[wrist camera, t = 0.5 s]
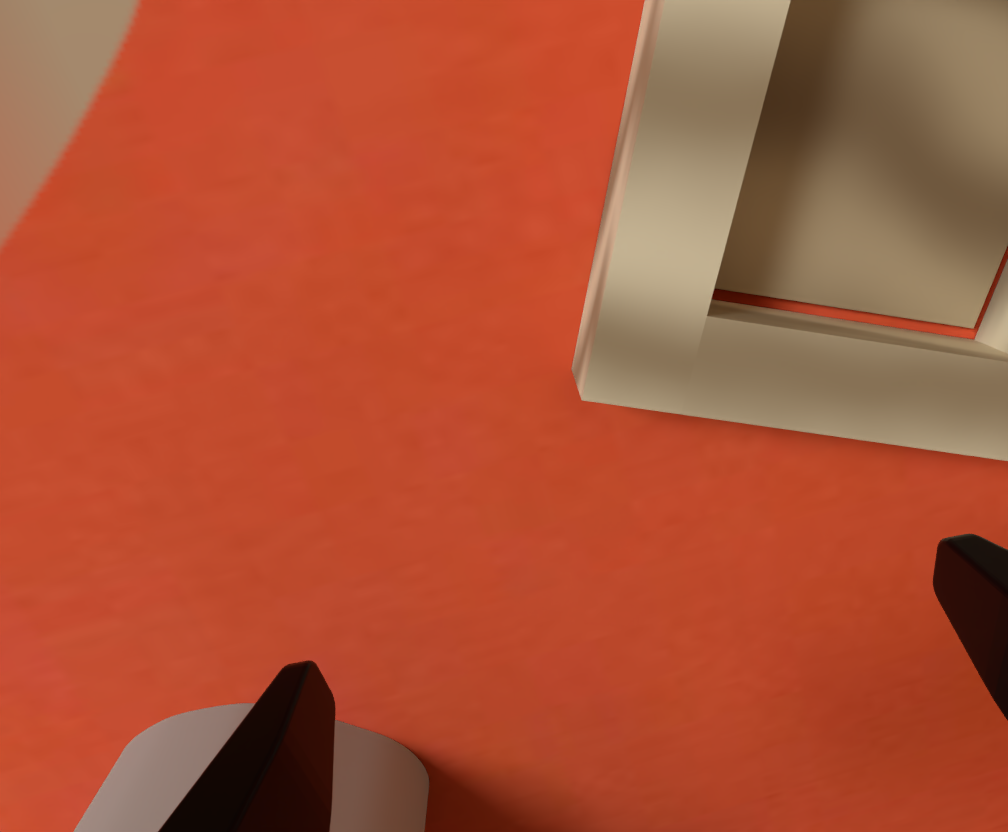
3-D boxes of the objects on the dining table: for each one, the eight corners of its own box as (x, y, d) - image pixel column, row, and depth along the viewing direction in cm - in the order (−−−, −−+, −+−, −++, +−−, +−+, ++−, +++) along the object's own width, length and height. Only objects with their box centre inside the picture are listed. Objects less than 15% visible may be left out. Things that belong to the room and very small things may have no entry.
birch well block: (1021, 434, 24) (1089, 472, 21) (571, 369, 23) (581, 400, 20) (1274, -113, 18) (1413, -159, 16) (691, -233, 17) (727, -303, 15)
